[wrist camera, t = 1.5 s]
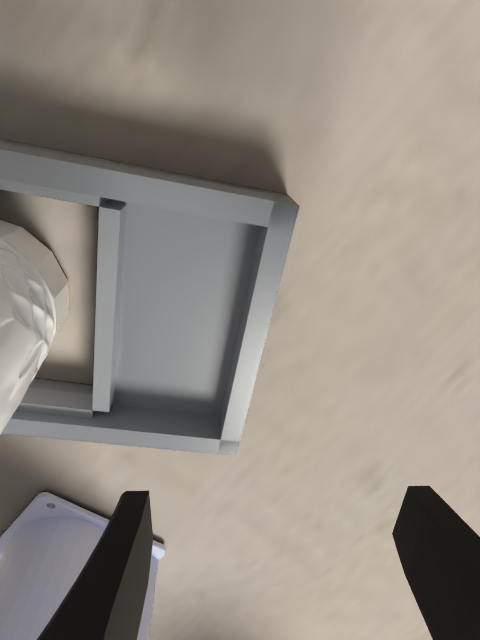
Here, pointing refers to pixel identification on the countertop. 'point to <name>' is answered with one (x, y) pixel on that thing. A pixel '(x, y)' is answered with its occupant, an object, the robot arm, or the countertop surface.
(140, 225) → the tray
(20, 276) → the white cup
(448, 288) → the countertop surface
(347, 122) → the countertop surface
